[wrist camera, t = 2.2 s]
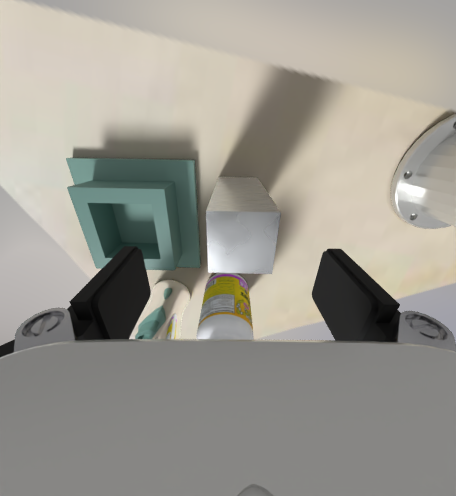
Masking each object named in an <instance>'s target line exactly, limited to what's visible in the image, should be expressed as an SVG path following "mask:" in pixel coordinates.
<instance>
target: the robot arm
mask: <svg viewBox="0 0 456 496" xmlns="http://www.w3.org/2000/svg"><path fill="white" fill-rule="evenodd" d="M391 202H392V206H393V209H394V211H395V213H396V214H397V215H398V216H399V217H400V218H401V219H402V220H404V221H405V222H407V223H409V224H411V225H413V226H415V227H419V228H424V229H438V228H445V227H449V226H455V227H456V114H453V115H451V116H450V117H448V118H446V119H444V120H442V121H440V122H439V123H437V124H436V125H435V126H433V127H432V128H431V129H429V130H428V131H427V132H425V133H424V134H423V135H422V136H421V137H420V138H419V139H418V140H417V141H416V142H415V143H414V144H413V145H412V147H411V148H410V149H409V150H408V152H407V153H406V154H405V156H404V157H403V159H402V161H401V162H400V164H399V166H398V168H397V170H396V172H395V175H394V177H393V181H392V185H391ZM150 293H151V291H150V286H149V281H148V277H147V272H146V267H145V263H144V258H143V254H142V250H141V249H138V247H137V246H124V247H123V248H122V249H121V250H120V251H119V252H118V253H117V254H116V255H115V256H114V257H113V258H112V259H111V260H110V261H109V262H108V263H107V264H106V265H105V266H104V267H103V268H102V269H101V270H100V271H99V272H98V273H97V274H96V275H95V276H94V277H93V278H92V279H91V281H90V282H89V283H88V284H87V285H86V286H85V287H84V288H83V289H82V290H81V291H80V292H79V293H78V294H77V295H76V296H75V297H74V298H73V299H72V300H71V301H70V304H71V306H70V307H69V308H68V309H65V308H52V309H48V310H45V311H42V312H40V313H38V314H35V315H34V316H32V317H31V318H29V319H27V320H26V321H25V322H24V323H22V324H21V326H20V327H19V328H18V329H17V332H16V334H15V340H13V341H10V342H8V343H6V344H4V345H1V346H0V496H456V344H455V339H454V336H453V334H452V332H451V331H450V330H449V329H448V328H447V327H446V326H445V325H443V324H442V323H441V322H439V321H437V320H436V319H434V318H432V317H430V316H428V315H425V314H422V313H419V312H414V311H405V312H402V313H400V312H399V311H398V310H397V309H398V308H399V306H400V304H399V303H397V302H396V301H395V300H394V299H393V298H392V297H391V296H390V295H389V294H388V293H387V292H386V291H385V290H384V289H383V288H382V287H381V286H380V285H379V284H377V283H376V282H375V281H374V280H373V279H372V278H371V277H370V276H369V275H368V274H367V273H366V272H365V271H364V270H363V269H362V268H361V267H360V266H358V265H357V264H356V263H355V262H354V261H353V260H352V259H351V258H350V257H349V256H348V255H347V254H346V253H345V252H344V251H343V250H341V249H327V251H325V252H323V255H322V258H321V262H320V265H319V269H318V273H317V276H316V280H315V283H314V287H313V291H312V298H313V300H314V302H315V304H316V305H317V307H318V309H319V311H320V313H321V315H322V316H323V318H324V320H325V322H326V324H327V326H328V327H329V329H330V331H331V333H332V335H333V337H334V339H335V340H336V341H331V340H329V341H328V340H325V341H324V340H243V339H129V338H130V336H131V334H132V332H133V330H134V328H135V326H136V324H137V322H138V320H139V318H140V316H141V314H142V312H143V310H144V308H145V306H146V304H147V302H148V300H149V297H150Z"/></svg>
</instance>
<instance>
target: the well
mask: <svg viewBox="0 0 456 496" xmlns="http://www.w3.org/2000/svg"><path fill="white" fill-rule="evenodd" d="M66 160H67V163H68V166H69V169H70V172H71V175H72V178H73V181H74V184H75V185H73V186H70V187H67V189H68V191H69V194H70V197H71V200H72V202H73V205H74V208H75V211H76V214H77V216H78V219H79V222H80V225H81V228H82V230H83V233H84V236H85V239H86V241H87V244H88V247H89V250H90V253H91V255H92V258H93V261H94V264H95V266H96V268H101V269H102V268H103V267H104V266H105V265H106V264H107V263H108V262H109V261H110V260H111V259H112V258H113V257H114V256H115V255H116V254H117V253H118V252H119V251H120V250H121V249H122V248H123V247H124V246H137V247H138V249H141V250H142V254H143V258H144V263H145V267H146V270H175V269H176V267H192V268H200V265H201V260H200V243H199V226H198V209H197V192H196V175H195V160H171V159H118V158H66Z"/></svg>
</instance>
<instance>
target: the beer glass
mask: <svg viewBox="0 0 456 496" xmlns="http://www.w3.org/2000/svg"><path fill="white" fill-rule="evenodd" d="M189 301H190V292H189V290H188V289H187V287H186V286H185V285H183V284H182V283H180V282H178V281H175V280H163V281H160V282H158V283H157V284H156V285H155V286H154V287H153V290H152V293H151V297H150V300H149V303H148V305H147V306H146V308H145V309H144V310H143V312H142V314H141V316H140V318H139V320H138V322H137V324H136V326H135V328H134V330H133V332H132V334H131V336H130V338H129V339H181V324H182V317H183V313H184V311H185V309H186V307H187V305H188V303H189Z"/></svg>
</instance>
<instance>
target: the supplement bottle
mask: <svg viewBox="0 0 456 496" xmlns="http://www.w3.org/2000/svg"><path fill="white" fill-rule="evenodd" d="M197 339H243V340H253V327H252V317H251V307H250V298H249V289H248V285H247V283H246V281H245V280H244V279H243V277H241V276H240V275H238V274H236V273H218V274H215V275H214V276H212V277H211V278H210V279H209V280H208V282H207V284H206V288H205V293H204V298H203V304H202V309H201V315H200V320H199V325H198V330H197Z"/></svg>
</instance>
